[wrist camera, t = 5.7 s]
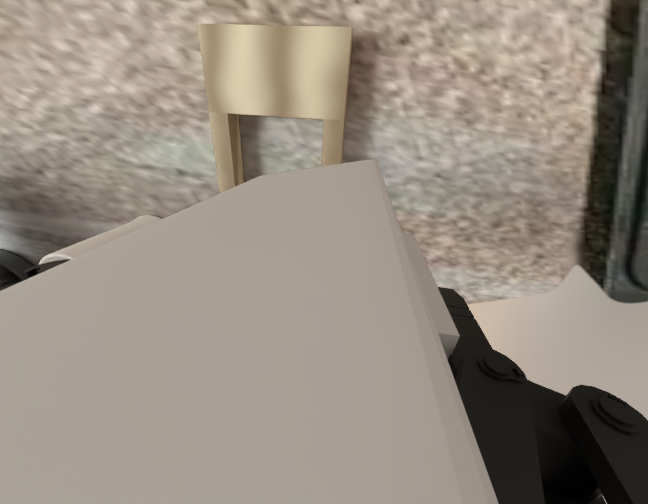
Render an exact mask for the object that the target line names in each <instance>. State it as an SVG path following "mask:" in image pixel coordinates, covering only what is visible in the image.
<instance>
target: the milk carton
mask: <svg viewBox="0 0 648 504" xmlns="http://www.w3.org/2000/svg"><path fill="white" fill-rule="evenodd" d="M0 504H499V503H498V501H497V498H496V495H495V492H494V489H493V487H492V484H491V481H490V478H489V475H488V473H487V470H486V467H485V464H484V461H483V458H482V456H481V453H480V450H479V447H478V444H477V442H476V439H475V436H474V433H473V430H472V428H471V425H470V422H469V419H468V416H467V413H466V411H465V408H464V405H463V402H462V399H461V397H460V394H459V391H458V388H457V385H456V383H455V380H454V377H453V374H452V371H451V368H450V366H449V363H448V360H447V357H446V354H445V352H444V349H443V346H442V343H441V340H440V338H439V335H438V332H437V329H436V326H435V323H434V321H433V318H432V315H431V312H430V309H429V307H428V304H427V301H426V298H425V295H424V293H423V290H422V287H421V284H420V281H419V278H418V276H417V273H416V270H415V267H414V264H413V262H412V259H411V256H410V253H409V250H408V248H407V245H406V242H405V239H404V236H403V233H402V231H401V228H400V225H399V222H398V219H397V217H396V214H395V211H394V208H393V205H392V203H391V200H390V197H389V194H388V191H387V189H386V186H385V183H384V180H383V177H382V174H381V172H380V169H379V166H378V163H377V161H376V160H375V159H371V160H362V161H355V162H348V163H341V164H334V165H328V166H321V167H314V168H307V169H300V170H293V171H286V172H279V173H272V174H266V175H261V176H258V177H256V178H254V179H251V180H249V181H247V182H245V183H242V184H240V185H238V186H236V187H233V188H231V189H229V190H227V191H224V192H222V193H220V194H218V195H215V196H213V197H211V198H209V199H206V200H204V201H202V202H200V203H197V204H195V205H193V206H191V207H188V208H186V209H184V210H182V211H179V212H177V213H175V214H173V215H170V216H168V217H166V218H164V219H161V220H159V221H157V222H155V223H152V224H150V225H148V226H146V227H143V228H141V229H139V230H137V231H134V232H132V233H130V234H128V235H125V236H123V237H121V238H119V239H116V240H114V241H112V242H110V243H107V244H105V245H103V246H101V247H98V248H96V249H94V250H92V251H89V252H87V253H85V254H83V255H80V256H78V257H76V258H74V259H71V260H69V261H67V262H65V263H62V264H60V265H58V266H56V267H53V268H51V269H49V270H47V271H44V272H42V273H40V274H38V275H35V276H33V277H31V278H29V279H26V280H24V281H22V282H20V283H17V284H15V285H13V286H11V287H8V288H6V289H4V290H2V291H0Z"/></svg>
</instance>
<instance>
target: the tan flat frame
mask: <svg viewBox="0 0 648 504" xmlns="http://www.w3.org/2000/svg"><path fill="white" fill-rule="evenodd" d="M197 25H198V33H199V40H200V48H201V56H202V63H203V71H204V78H205V86H206V94H207V101H208V109H209V116H210V124H211V131H212V139H213V147H214V154H215V162H216V169H217V177H218V185H219V192H220V193H222V192H224V191H227V190H229V189H231V188H233V187H236V186H238V185H240V184H242V183H244V175H243V163H242V152H241V140H240V128H239V117H238V115H253V116H270V117H286V118H302V119H319V120H324V124H323V144H322V164H321V166H328V165H334V164H341V163H342V160H343V148H344V136H345V125H346V113H347V101H348V89H349V78H350V66H351V54H352V43H353V33H352V27H328V26H280V25H233V24H197Z"/></svg>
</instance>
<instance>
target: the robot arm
mask: <svg viewBox="0 0 648 504" xmlns="http://www.w3.org/2000/svg"><path fill="white" fill-rule="evenodd" d="M403 236H404V239H405V242H406V245H407V248H408V250H409V253H410V256H411V259H412V262H413V264H414V267H415V270H416V273H417V276H418V278H419V281H420V284H421V287H422V290H423V293H424V295H425V298H426V301H427V304H428V307H429V309H430V312H431V315H432V318H433V321H434V323H435V326H436V329H437V332H438V335H439V338H440V340H441V343H442V346H443V349H444V352H445V354H446V357H447V360H448V363H449V366H450V368H451V371H452V374H453V377H454V380H455V383H456V385H457V388H458V391H459V394H460V397H461V399H462V402H463V405H464V408H465V411H466V413H467V416H468V419H469V422H470V425H471V428H472V430H473V433H474V436H475V439H476V442H477V444H478V447H479V450H480V453H481V456H482V458H483V461H484V464H485V467H486V470H487V473H488V475H489V478H490V481H491V484H492V487H493V489H494V492H495V495H496V498H497V501H498V503H499V504H606V502H607V504H648V420H647V419H646V418H645V417H644V416H643V415H642V414H641V413H639V412H638V411H637V410H635V409H634V408H633V407H631V406H630V405H628V404H627V403H626V402H624V401H623V400H621V399H620V398H617V397H616V396H614V395H612V394H610V393H608V392H606V391H603V390H601V389H598V388H595V387H592V386H585V385H579V386H576V387H573V388H572V389H571V391H570V392H569V393H568V394H567V396H565V395H563V394H561V393H558V392H555V391H553V390H551V389H548V388H545V387H543V386H540V385H538V384H535V383H533V382H531V381H529V380H527V379H526V376H525V374H524V372H523V371H522V370H521V369H520V368H519V367H518V365H516V363H514V362H513V361H512V360H510V359H509V358H508V357H507V356H505V355H503V354H501V353H499V352H497V351H495V350H493V349H492V347H491V345H490V344H489V342H488V340H487V339H486V337H485V335H484V333H483V332H482V330H481V328H480V326H479V325H478V323H477V321H476V320H475V319H474V316H473V314H472V313H471V311H470V310H469V307H468V306H467V304H466V302H465V300H464V299H463V298H462V297H461V296H460V295H459V294H458V293H456V292H455V291H454V290H453V289H447V288H440V287H437V285H436V283H435V281H434V278H433V276H432V274H431V272H430V270H429V267H428V265H427V263H426V261H425V259H424V256H423V254H422V252H421V250H420V248H419V245H418V243H417V241H416V239H415V237H414V234H405V233H403ZM69 260H71V259H66V260H57V261H52V262H48V263H43V264H40V265H37V266H33V265H32V264H31V263H29V262H28V261H26V260H24V259H23V258H21V257H19V256H17V255H15V254H13V253H10V252H7V251H4V250H0V291H2V290H4V289H6V288H8V287H11V286H13V285H15V284H17V283H20V282H22V281H24V280H26V279H29V278H31V277H33V276H35V275H38V274H40V273H42V272H44V271H47V270H49V269H51V268H53V267H56V266H58V265H60V264H62V263H65V262H67V261H69ZM602 495H603V496H604V498H605V500H606V502H605V501H604V499H603V497H602Z"/></svg>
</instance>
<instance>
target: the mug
mask: <svg viewBox="0 0 648 504" xmlns="http://www.w3.org/2000/svg"><path fill="white" fill-rule="evenodd" d="M159 220H161V218H159V217H156V216H152V215H143V216H139V217H137V218H135V219H134V220H133V221H131V222H129V223H126V224H124V225H121V226H119V227H116V228H114V229H111V230H109V231H106V232H104V233H101V234H99V235H96V236H94V237H91V238H89V239H86V240H83V241H81V242H78V243H76V244H73V245H71V246H68V247H66V248H63V249H61V250H58V251H56V252H53V253H51V254H48V255H46V256H44V257H43V258H42V259H41V260H40V262H39V265H40V264H43V263H48V262H52V261H57V260H66V259H74V258H76V257H78V256H80V255H83V254H85V253H87V252H89V251H92V250H94V249H96V248H98V247H101V246H103V245H105V244H107V243H110V242H112V241H114V240H116V239H119V238H121V237H123V236H125V235H128V234H130V233H132V232H134V231H137V230H139V229H141V228H143V227H146V226H148V225H150V224H152V223H155V222H157V221H159Z"/></svg>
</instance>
